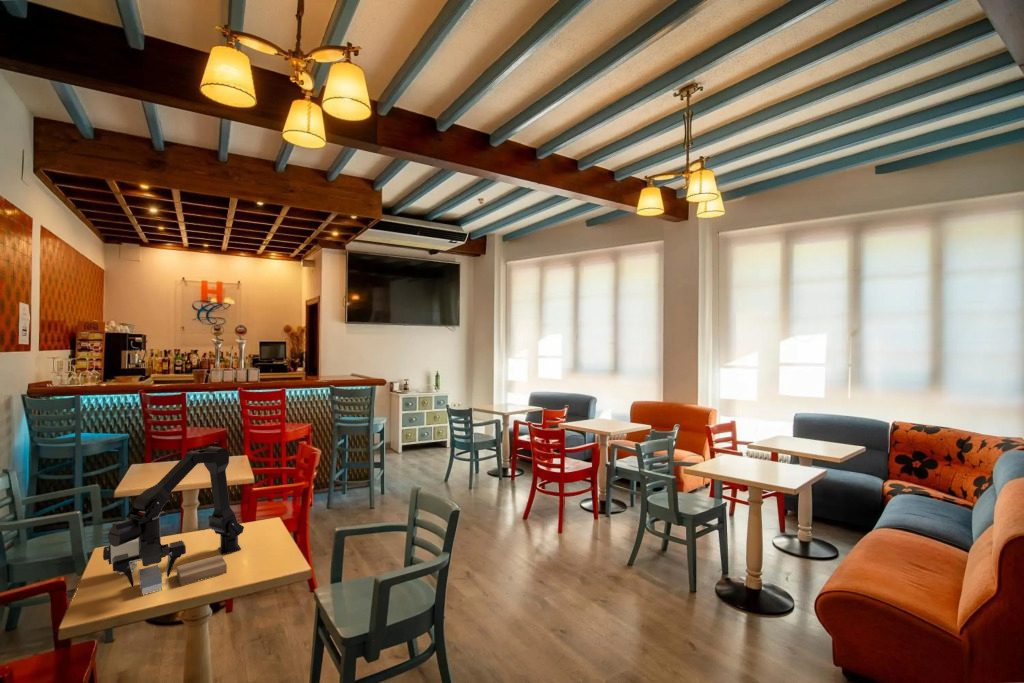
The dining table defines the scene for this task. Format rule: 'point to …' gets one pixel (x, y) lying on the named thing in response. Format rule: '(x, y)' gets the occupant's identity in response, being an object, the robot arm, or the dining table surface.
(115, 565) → the robot arm
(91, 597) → the dining table surface
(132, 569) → the pneumatic valve
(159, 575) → the block
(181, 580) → the walnut stand
